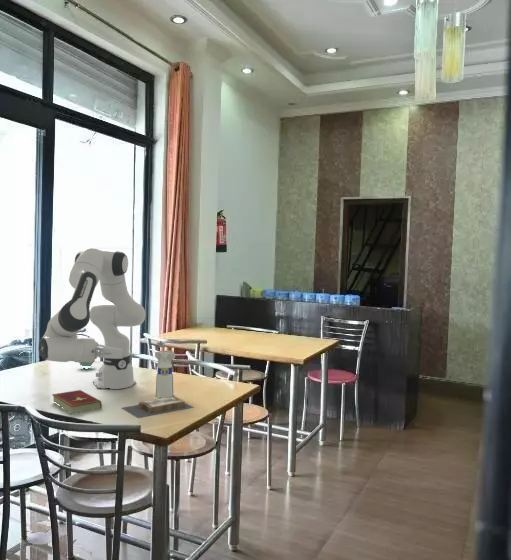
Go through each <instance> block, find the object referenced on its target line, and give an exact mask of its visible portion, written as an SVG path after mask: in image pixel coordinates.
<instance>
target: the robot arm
mask: <svg viewBox="0 0 511 560" xmlns="http://www.w3.org/2000/svg"><path fill="white" fill-rule="evenodd" d="M128 267H129V259H128V256H127V255H126V253H124V252H123V251H119V250H116V251H115V250H110V249H109V250H108V249H99V248H97V247H88V248H87V247H86V248H85V249H82V250H80V251H78V252H77V253H76V255H75V258H74V264H73V266H72V267H71V269H70V270H71V271H70V273H69V278H68V283H69V285H70V286H71V287H72V288H73V289H74V292H73V294H72V297H71V299H70V300H68V301H66V303H65V304H64V305H63V306H62V307H61V309H60V310H58V311H57V313H56V314H54V315H53V316H52V317H51V318H50V319H49V320H48V323H47V324H46V330H45V332H44V334H43V336H42V337H41V338H40V339H39V342H38V352H39V354H40V357H41V358H42V359H44V360H46V361H50V362H57V363H58V362H59V363H68V362H74V363H79V362H83V363H91V362H92V361H93V360H94V359H95V360H96V359H97V358H101V359H102V358H103V361H102V362H103V364H102V365H101V366H100V367H99V369H98V370H97V371H96V372H95V377H96V378H95V379H94V378H93V380H92V382H93V381H94V383H95V384H96V386H97V387H98V388H97V387H96V386H95V387H96V388H97V389H100V388H101V389H105V388H110V389H109V390H119V389H120V390H121V389H126V388H131V387H132V386H134V385H136V384H137V381H136V380H135V378H134V368H133V365H131V359H132V358H131V355H130V345H131V342H130V338H129V337H128V336H127V335H125V334H123V333H121V332H120V331H119V329H118V327H123V328H124V327H125V328H126V327H131V328H132V327H136V326H141V325H142V324H143V323H144V321H145V319H146V316H147V314H146V309H145V308H144V306H143V305H142V304H140V303H138V302H137V301H135V299H134V298H132V296H131V295H130V293H129V291H128V287H127V283H126V281H127V280H126V276H125V273H127V271H128ZM98 284H100V292H101V295H102V297H103V299H105V300H106V301H108V302H100V303H96V304H93V306H92V307H91V306H90V305H91V301H92V298H93V295H94V292H95V288H96V287H97V285H98ZM90 307H91V308H90ZM89 322H91V323H92V324H93V325H94V326H95V327H97V328H98V330H99V331H100V332H101V335H102V337H103V339H104V341H103V342H104V344H99V343H98V342H97V341H96V340H95V339H94V338H91V337H80V336H78V335H77V334H78V332H80V330H82V329H84V328H85V327H87V325H88V324H89ZM94 383H93V384H94ZM95 384H94V385H95Z"/></svg>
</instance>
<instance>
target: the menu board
mask: <svg viewBox="0 0 511 560" xmlns="http://www.w3.org/2000/svg"><path fill="white" fill-rule="evenodd" d="M138 405H139V407H140V408H142V409H144V410H145V411H147V412H149V413H154V412H160V411H165V410H170V409H176V408H181V407H185V401H184V400H182V399H180V398H177V397H175V396H174V395H173V396H172V397H166V398H160V397H159V398H156V399H149V400H144V401H139V402H138Z"/></svg>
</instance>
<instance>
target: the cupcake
mask: <svg viewBox="0 0 511 560" xmlns="http://www.w3.org/2000/svg"><path fill="white" fill-rule="evenodd" d="M95 361H96V359H94V360H93V361H92V362H91V363H83V362H78V363H79V365H80V366H81V365H82V366H91V365H92V366H93V364H94V363H95ZM92 366H91V367H92Z"/></svg>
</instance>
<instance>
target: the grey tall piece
mask: <svg viewBox="0 0 511 560" xmlns="http://www.w3.org/2000/svg"><path fill="white" fill-rule="evenodd" d="M164 344H166V343H164V342H163V341H162V340H160V342H157V345H158V349H160V348H164ZM155 358H156V359H157V361H158V362H157V365H156V367H157V374H156V379H155V380H156V384H155V397H156V398H159V399H160V398H166V397H172V396H173V397H174V375H173V367H174V365H173V362H172V360H174V359H175V358H176V354H175V352H174V351H173V350H158V351H156V354H155Z"/></svg>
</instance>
